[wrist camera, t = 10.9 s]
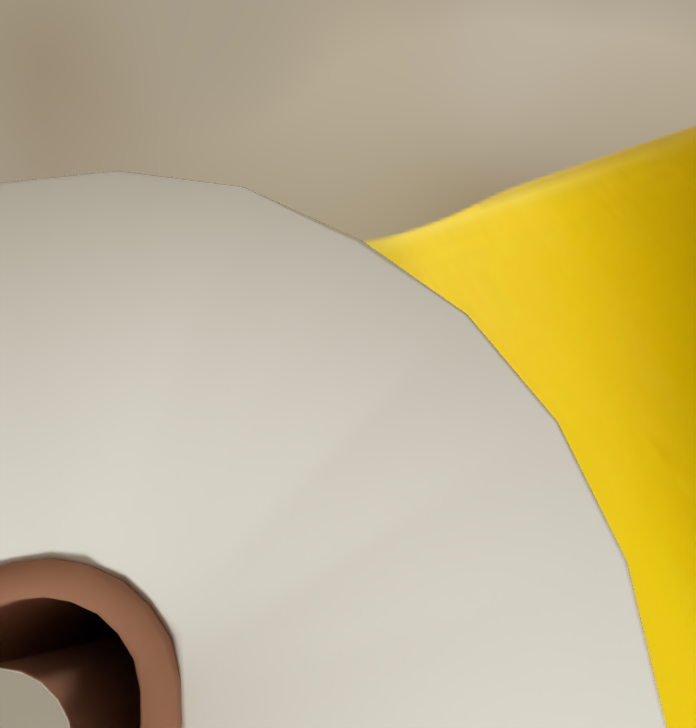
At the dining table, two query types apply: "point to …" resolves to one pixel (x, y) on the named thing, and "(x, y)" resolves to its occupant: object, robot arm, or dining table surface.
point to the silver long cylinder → (280, 485)
